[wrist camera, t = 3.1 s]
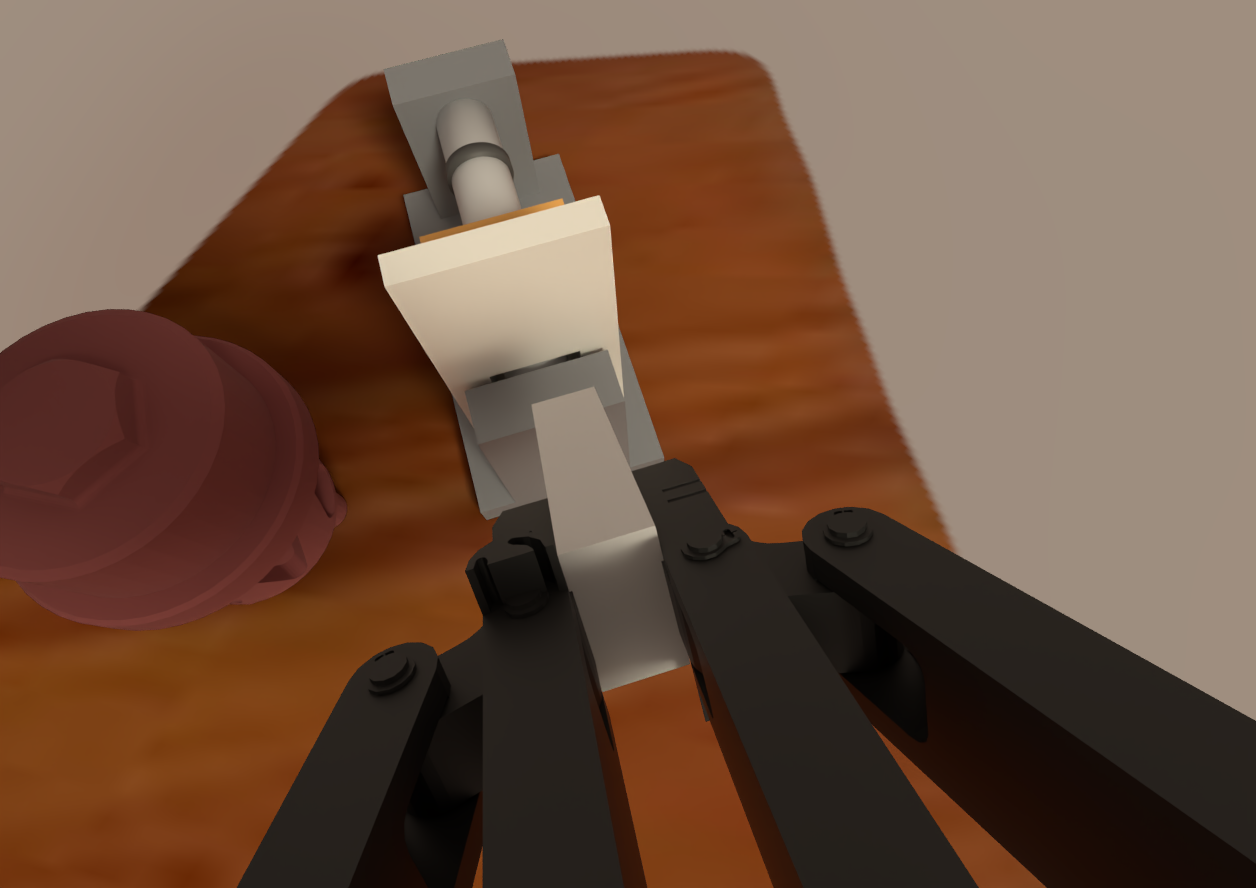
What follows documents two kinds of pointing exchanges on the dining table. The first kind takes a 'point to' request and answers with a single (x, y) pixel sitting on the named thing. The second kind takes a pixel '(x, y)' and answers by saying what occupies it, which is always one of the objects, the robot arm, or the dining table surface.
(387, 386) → the dining table surface
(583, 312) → the sleeve
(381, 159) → the dining table surface
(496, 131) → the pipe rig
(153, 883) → the dining table surface
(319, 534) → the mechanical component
